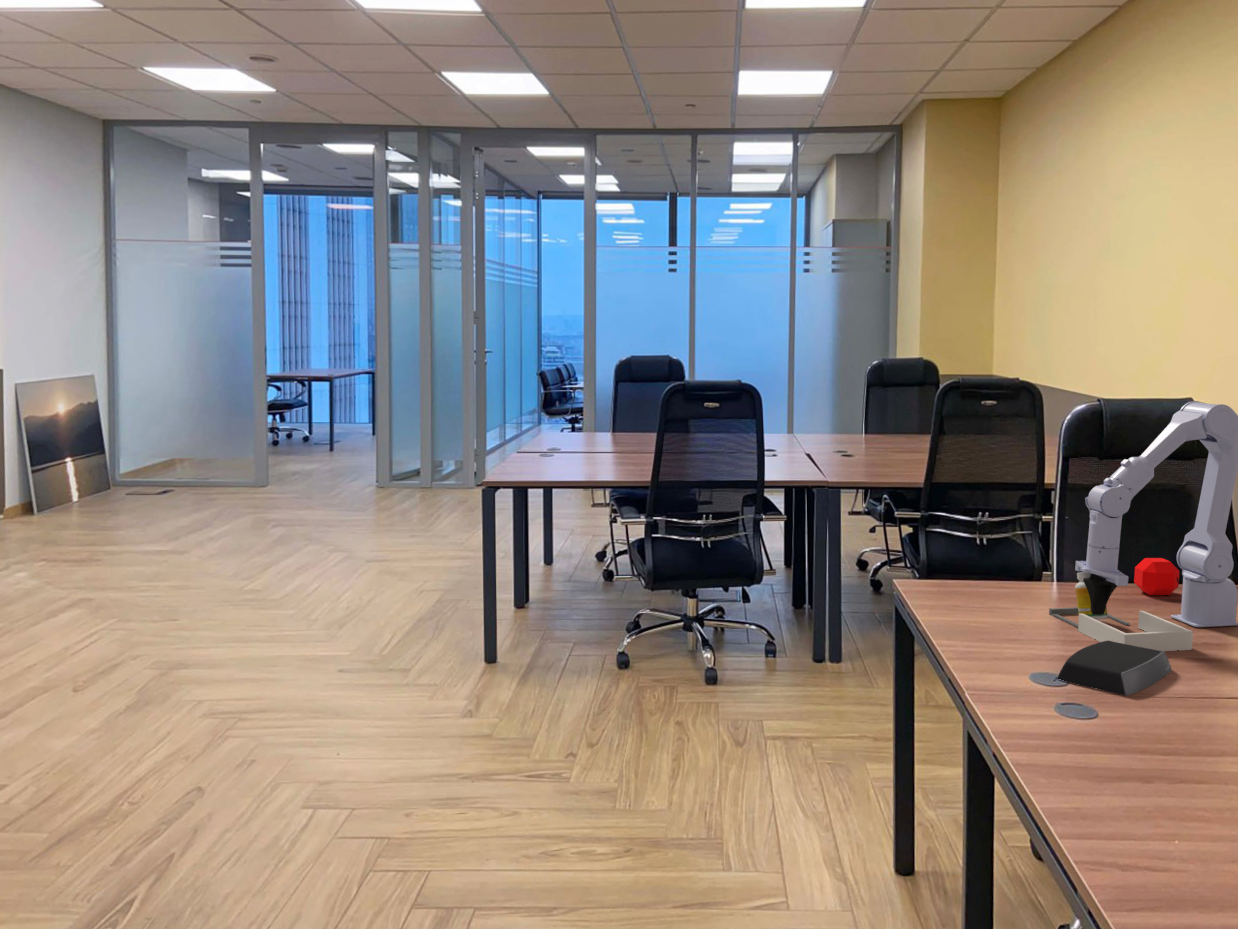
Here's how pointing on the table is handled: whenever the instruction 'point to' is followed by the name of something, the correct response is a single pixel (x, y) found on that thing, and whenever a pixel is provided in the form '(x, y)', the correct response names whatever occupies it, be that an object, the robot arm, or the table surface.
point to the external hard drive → (1115, 667)
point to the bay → (1156, 636)
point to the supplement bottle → (1085, 598)
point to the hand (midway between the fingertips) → (1097, 613)
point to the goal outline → (1074, 610)
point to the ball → (1156, 576)
